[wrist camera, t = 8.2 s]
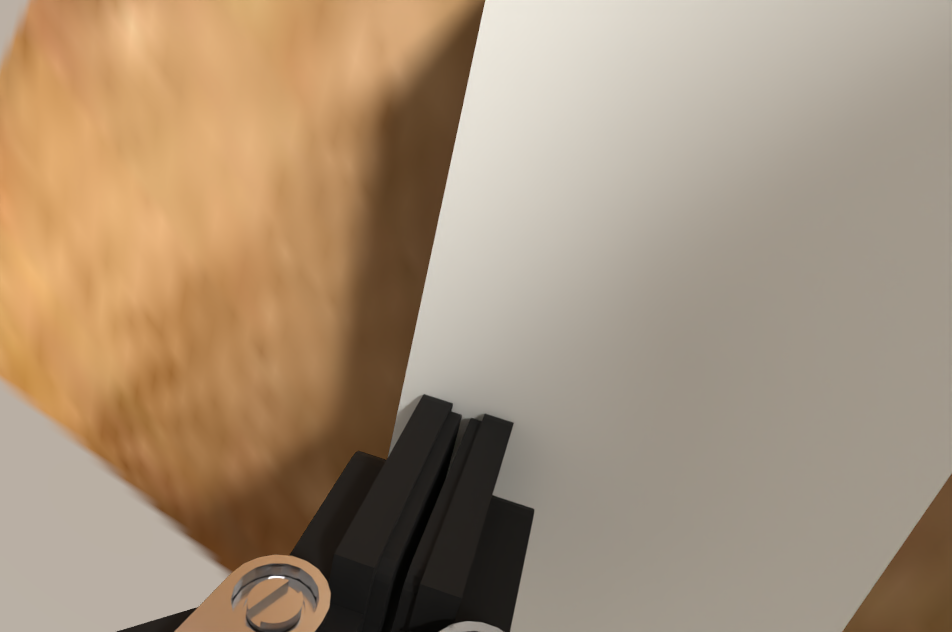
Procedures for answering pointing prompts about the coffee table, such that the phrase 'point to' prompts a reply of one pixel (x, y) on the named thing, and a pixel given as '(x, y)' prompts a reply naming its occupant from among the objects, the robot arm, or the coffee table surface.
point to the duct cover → (701, 301)
